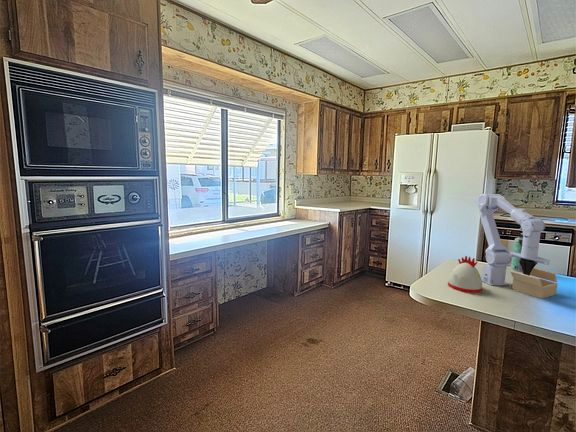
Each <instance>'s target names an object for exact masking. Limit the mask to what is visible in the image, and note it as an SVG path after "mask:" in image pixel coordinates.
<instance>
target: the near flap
mask: <svg viewBox="0 0 576 432" xmlns="http://www.w3.org/2000/svg"><path fill="white" fill-rule="evenodd" d="M510 274H511V277H512V278H513V279H516V280H520V281H523V282H526V283H530V284H533V285H537V286H540V287H542V284H541V282H540V279H541V278H538V277H535V276H531V275H530V276H528V275H525V274H523V273H522V272H518V271H513V270H510Z"/></svg>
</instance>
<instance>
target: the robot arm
mask: <svg viewBox="0 0 576 432" xmlns="http://www.w3.org/2000/svg"><path fill="white" fill-rule="evenodd" d="M476 203H477V206H478V207H477V208H478V210H479V216H480V220H481V223H482V227H483V231H484V233H485V234H484V235H485V238H486V241H487V244H488V247H487V248H486V249H485V251H484V252H485V260H486V262H487V264H485V265H484V266H482V270H481V275H480V277H481V281H482V283H483V282H484V283H486V284H488V285H490V286H509V285H510V283H508V282H505V281H506V275H507V273H506V272H507V267H508V266H509V265H510V264H512V257H516V258H520V260H519V263H520V264H521V267H522V270H523V271H522V274H525V275H528V276H531V275H530V273H531V271H532V269H533V268H536V267H535V266H536V265H537V264H543V265H545V266H549V265H550V262H551V261H550V259H547V258H543V257H540V256H538V254H539V247H540V240H541V234H542V233H541V232H543V231H544V230H545V229H546V222H545V221H544V220H543V219H542V218H540V217H539V218H537V217H535V216H534V215H531V214H530V213H528V212H527V210H526V209H524V208H517V207H515V206H514V205H513V204H512V203H511V202H509V201H508V200H507V199H506V196H503V195H502V194H500V193H482V194H480V195H479V196H478V198H477V201H476ZM498 209H502V210H503V211H504V212H506V213H508V214H510V219H512V220H513V221H514V222H516V223H517V224H518V225H520V228H521V230H522V235H523V242H522V250H521V253H516V252H513V251H509V250H508V247H506V246H505V245H503V243H502V241H501V237H500V233H499V230H498V227H497V224H496V221H495V220H496V219H495V218H494V213H495V212H496V211H497V210H498Z"/></svg>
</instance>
